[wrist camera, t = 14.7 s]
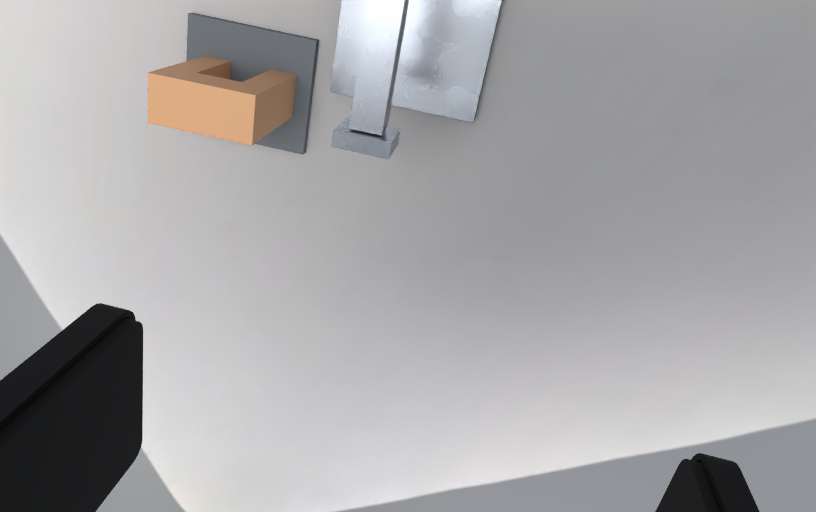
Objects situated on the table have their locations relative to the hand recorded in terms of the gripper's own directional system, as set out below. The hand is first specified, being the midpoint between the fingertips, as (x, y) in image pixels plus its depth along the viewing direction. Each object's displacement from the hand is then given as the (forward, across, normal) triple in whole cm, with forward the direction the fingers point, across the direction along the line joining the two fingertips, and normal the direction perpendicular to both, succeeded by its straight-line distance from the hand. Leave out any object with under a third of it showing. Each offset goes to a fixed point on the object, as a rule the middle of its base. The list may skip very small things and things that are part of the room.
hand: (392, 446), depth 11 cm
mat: (+36, +16, +3) cm, 39 cm away
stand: (+36, +5, -4) cm, 36 cm away
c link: (+35, +16, +3) cm, 39 cm away
